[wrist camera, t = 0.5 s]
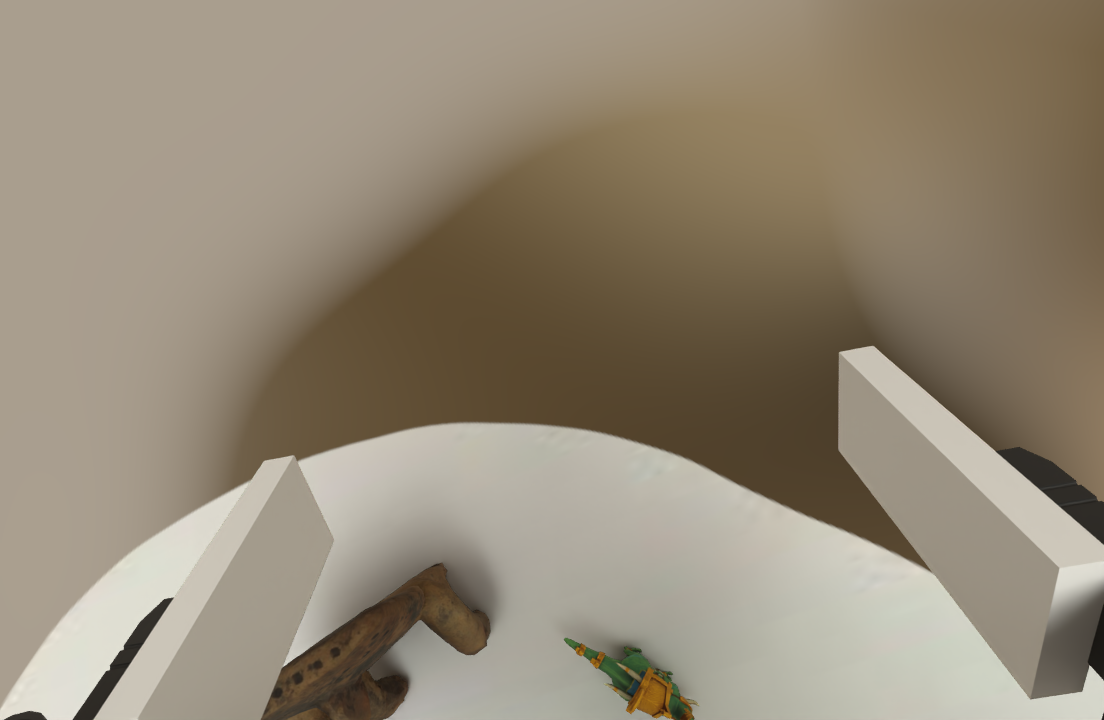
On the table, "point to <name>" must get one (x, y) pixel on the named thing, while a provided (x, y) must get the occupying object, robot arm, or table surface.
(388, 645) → the figurine
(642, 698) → the figurine
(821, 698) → the table surface
